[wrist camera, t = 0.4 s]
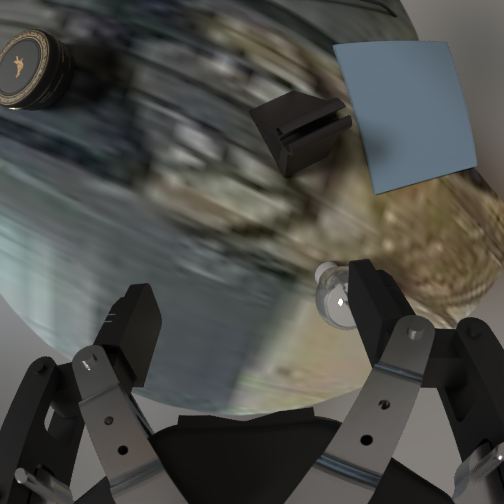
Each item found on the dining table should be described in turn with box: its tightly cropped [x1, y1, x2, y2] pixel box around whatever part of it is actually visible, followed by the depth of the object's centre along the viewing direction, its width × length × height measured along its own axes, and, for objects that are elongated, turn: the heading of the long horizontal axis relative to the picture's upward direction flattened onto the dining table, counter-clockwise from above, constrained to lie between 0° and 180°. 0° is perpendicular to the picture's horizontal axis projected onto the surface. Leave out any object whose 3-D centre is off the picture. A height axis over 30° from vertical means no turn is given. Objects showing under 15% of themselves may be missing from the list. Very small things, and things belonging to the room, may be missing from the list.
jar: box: [0, 29, 74, 111], centre depth 25 cm, size 10×10×8 cm
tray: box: [332, 41, 477, 194], centre depth 34 cm, size 20×20×1 cm
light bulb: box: [315, 262, 357, 330], centre depth 34 cm, size 7×7×12 cm
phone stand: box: [249, 91, 352, 178], centre depth 29 cm, size 9×6×12 cm, turn 28°
